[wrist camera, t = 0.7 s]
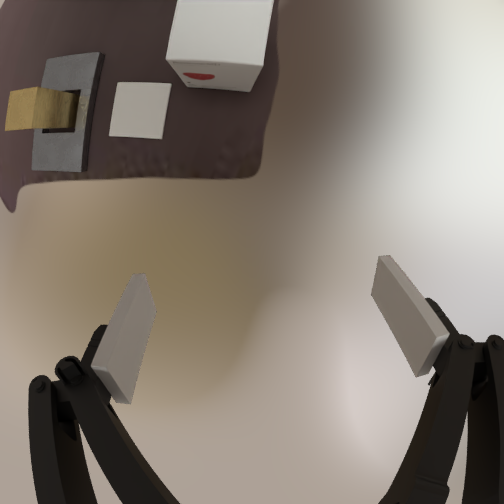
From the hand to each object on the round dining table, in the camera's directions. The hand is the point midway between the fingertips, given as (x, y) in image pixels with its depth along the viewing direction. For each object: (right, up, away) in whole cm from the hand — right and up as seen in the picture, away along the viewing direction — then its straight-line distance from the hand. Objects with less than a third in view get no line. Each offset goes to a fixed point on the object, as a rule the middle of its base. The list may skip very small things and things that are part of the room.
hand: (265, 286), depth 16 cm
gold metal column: (-29, +23, +17) cm, 40 cm away
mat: (-16, +21, +18) cm, 33 cm away
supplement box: (-5, +28, +17) cm, 33 cm away
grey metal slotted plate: (-29, +23, +17) cm, 40 cm away
